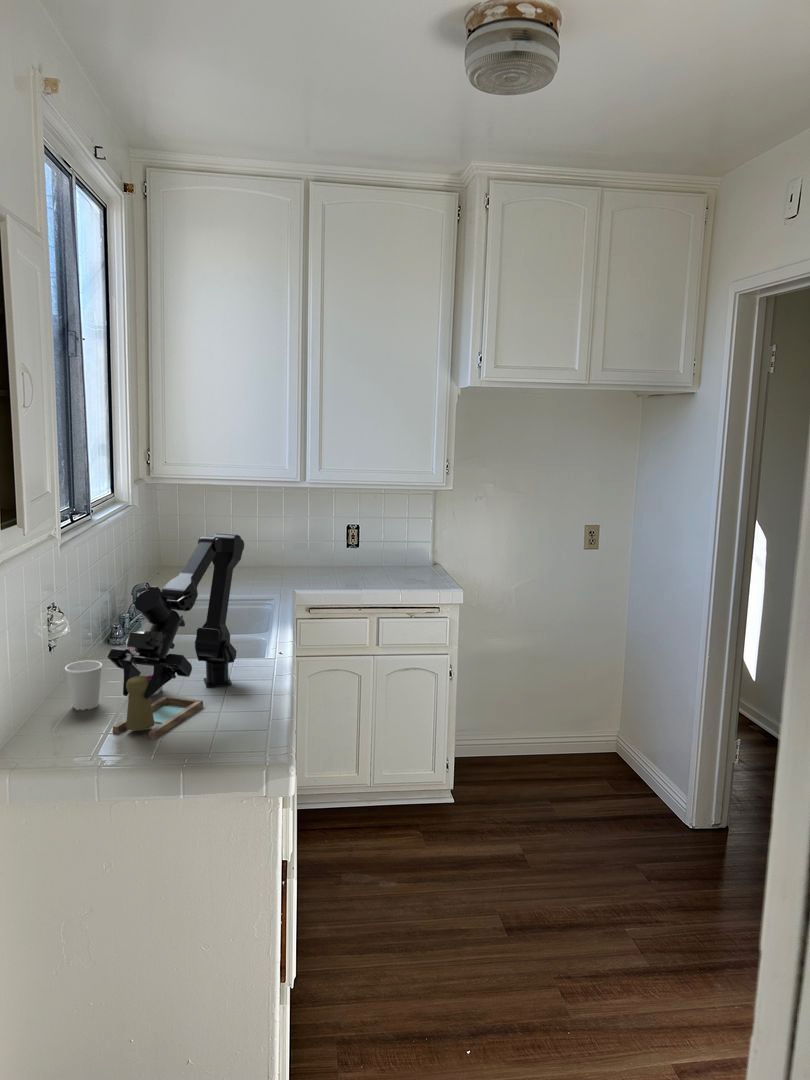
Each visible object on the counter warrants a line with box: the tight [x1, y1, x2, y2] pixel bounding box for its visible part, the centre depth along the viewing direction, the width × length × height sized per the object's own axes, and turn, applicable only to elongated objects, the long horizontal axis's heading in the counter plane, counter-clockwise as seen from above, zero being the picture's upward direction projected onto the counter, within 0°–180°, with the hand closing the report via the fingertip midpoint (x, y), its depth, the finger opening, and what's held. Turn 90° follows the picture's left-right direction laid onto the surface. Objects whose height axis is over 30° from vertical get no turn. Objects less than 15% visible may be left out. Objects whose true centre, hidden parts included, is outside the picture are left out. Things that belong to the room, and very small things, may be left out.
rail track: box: [112, 695, 204, 740], centre depth 185 cm, size 20×10×2 cm, turn 163°
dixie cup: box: [64, 660, 103, 711], centre depth 192 cm, size 8×8×10 cm
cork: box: [126, 676, 156, 732], centre depth 177 cm, size 6×6×11 cm
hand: (135, 696), depth 175 cm, fingers closed on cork, 5 cm apart
